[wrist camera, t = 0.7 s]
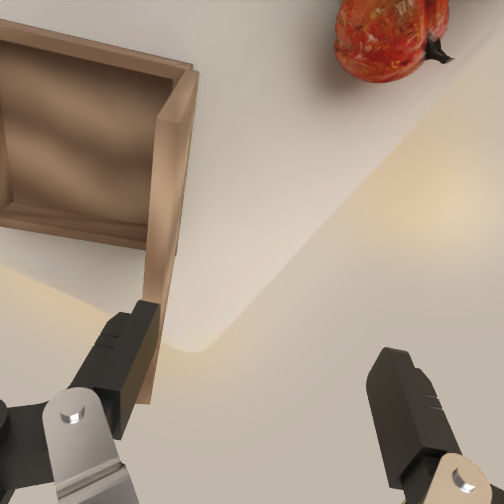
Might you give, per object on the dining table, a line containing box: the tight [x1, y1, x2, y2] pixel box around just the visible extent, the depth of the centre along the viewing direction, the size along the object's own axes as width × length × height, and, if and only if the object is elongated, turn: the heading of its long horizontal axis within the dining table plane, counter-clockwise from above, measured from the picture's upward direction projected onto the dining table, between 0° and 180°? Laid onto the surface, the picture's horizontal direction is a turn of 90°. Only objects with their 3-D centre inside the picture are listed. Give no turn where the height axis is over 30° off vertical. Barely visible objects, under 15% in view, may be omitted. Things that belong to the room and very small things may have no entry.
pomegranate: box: [334, 0, 454, 83], centre depth 24 cm, size 7×7×10 cm
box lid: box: [135, 69, 199, 404], centre depth 22 cm, size 15×16×1 cm
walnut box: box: [0, 19, 193, 250], centre depth 29 cm, size 15×15×4 cm
